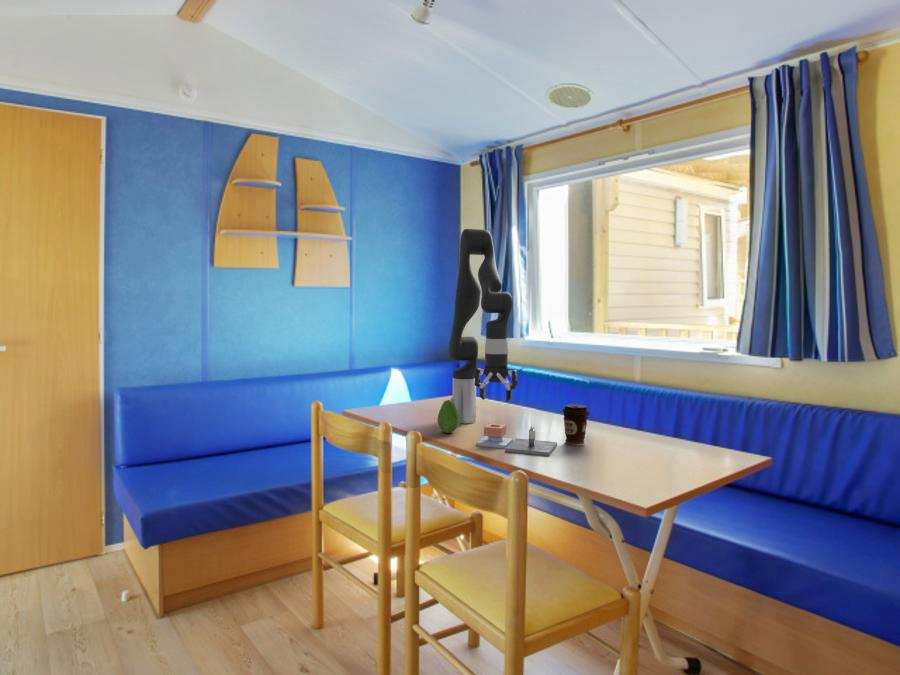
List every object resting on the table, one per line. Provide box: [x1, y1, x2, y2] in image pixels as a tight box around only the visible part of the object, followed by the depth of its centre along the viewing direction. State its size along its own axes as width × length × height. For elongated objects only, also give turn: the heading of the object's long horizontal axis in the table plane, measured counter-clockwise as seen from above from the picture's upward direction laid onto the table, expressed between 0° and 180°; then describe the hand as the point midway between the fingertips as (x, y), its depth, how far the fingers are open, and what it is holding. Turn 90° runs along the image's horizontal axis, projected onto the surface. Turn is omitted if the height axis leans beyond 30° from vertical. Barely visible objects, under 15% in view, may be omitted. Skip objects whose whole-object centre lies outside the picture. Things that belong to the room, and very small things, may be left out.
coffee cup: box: [562, 403, 590, 447], centre depth 207 cm, size 9×8×13 cm
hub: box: [504, 426, 558, 457], centre depth 200 cm, size 14×14×7 cm
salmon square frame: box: [483, 423, 507, 438], centre depth 206 cm, size 6×6×3 cm
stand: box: [475, 436, 514, 449], centre depth 206 cm, size 10×10×6 cm
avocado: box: [437, 399, 460, 434], centre depth 221 cm, size 8×8×12 cm
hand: (495, 400), depth 205 cm, fingers open, 8 cm apart
